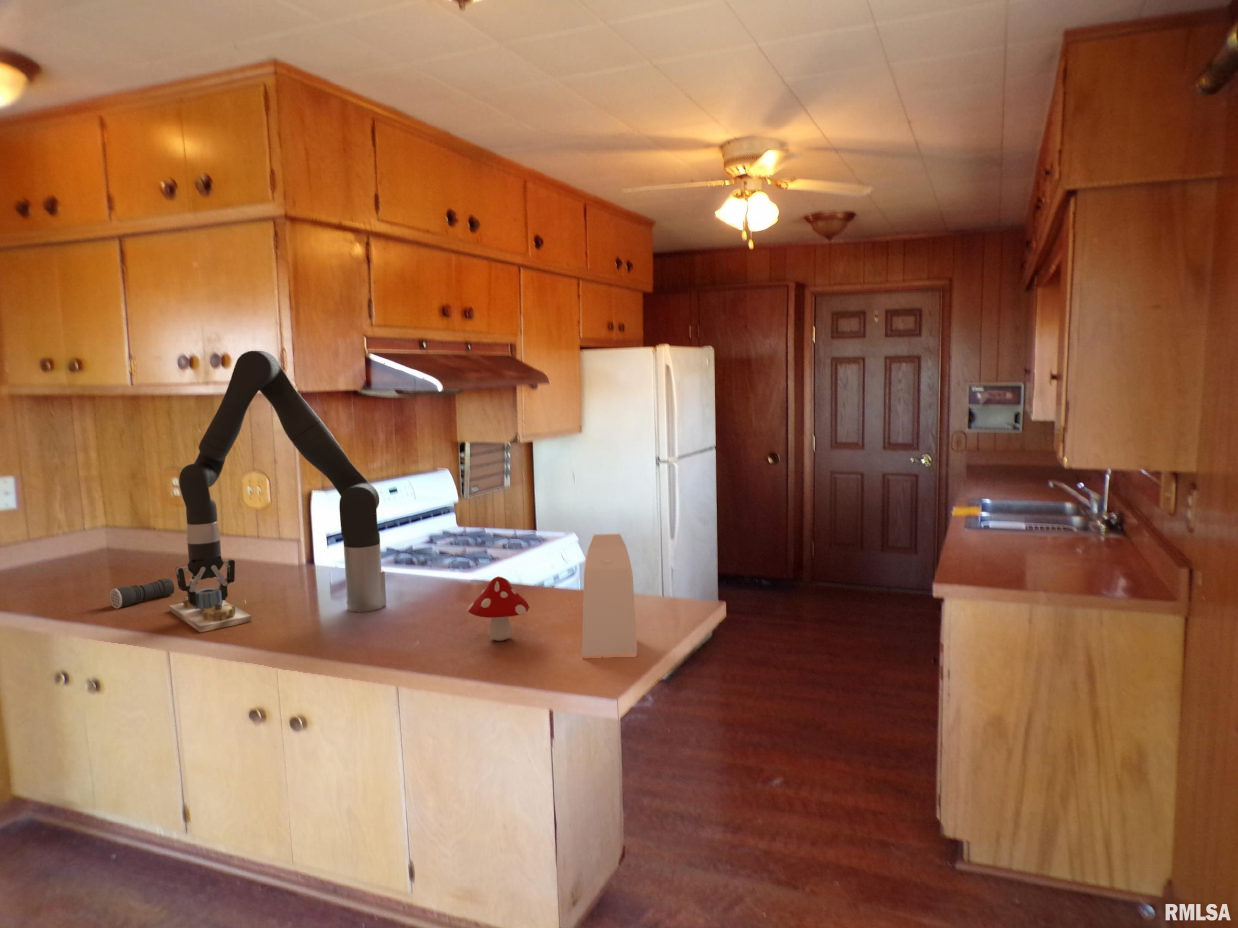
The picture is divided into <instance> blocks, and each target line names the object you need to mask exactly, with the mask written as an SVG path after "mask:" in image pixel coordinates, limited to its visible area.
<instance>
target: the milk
mask: <svg viewBox="0 0 1238 928" xmlns="http://www.w3.org/2000/svg"><path fill="white" fill-rule="evenodd" d="M629 555H630V554H629V552H628V549H627V546H626V543H625V541H624V538H623V537H622V534H621V533H598V534H597V533H596V534H595V533H594V534H593V535H592V538H591V540H590V542H589V545H588V548H587V552H586V556H585V558H584V564H583V565H584V567H583V568H584V569H583V601H582V602H583V604H582V641H581V642H582V643H581V645H582V647H581V657H582V656H597V655H614V654H623V653H635V652H637V653H638V646H637V644H638V643H637V628H636V608H635V607H636V606H635V592H634V591H635V590H634V576H633V575H634V574H633V568H632V563H631V559H630V556H629Z"/></svg>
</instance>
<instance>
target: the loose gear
mask: <svg viewBox="0 0 1238 928" xmlns="http://www.w3.org/2000/svg"><path fill="white" fill-rule="evenodd" d="M194 591H195V594H196V606H194V608H195V609H200V610H204V609H209V608H212V607H213V606H215V605H216V604H217V603H221V604H223V601H222V592H221V588H219V587H218V588H217V587H210V588H209V587H208V588H201V589H199V590H194Z"/></svg>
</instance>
